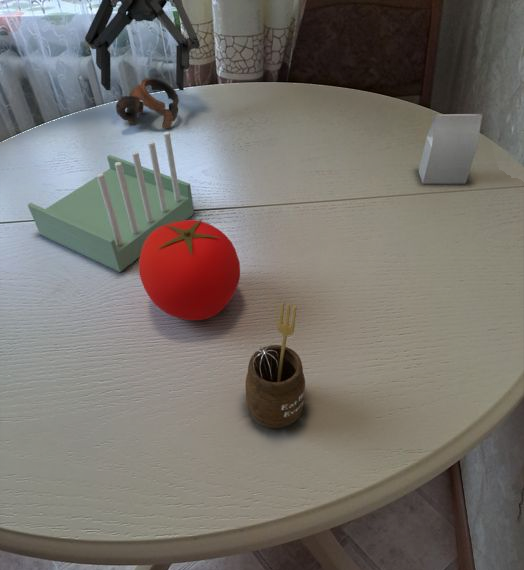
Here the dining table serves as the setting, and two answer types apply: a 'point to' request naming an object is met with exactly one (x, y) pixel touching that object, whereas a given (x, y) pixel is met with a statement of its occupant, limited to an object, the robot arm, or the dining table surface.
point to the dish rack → (117, 210)
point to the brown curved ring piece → (148, 102)
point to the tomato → (189, 269)
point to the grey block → (450, 148)
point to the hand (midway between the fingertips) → (142, 87)
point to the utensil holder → (276, 380)
